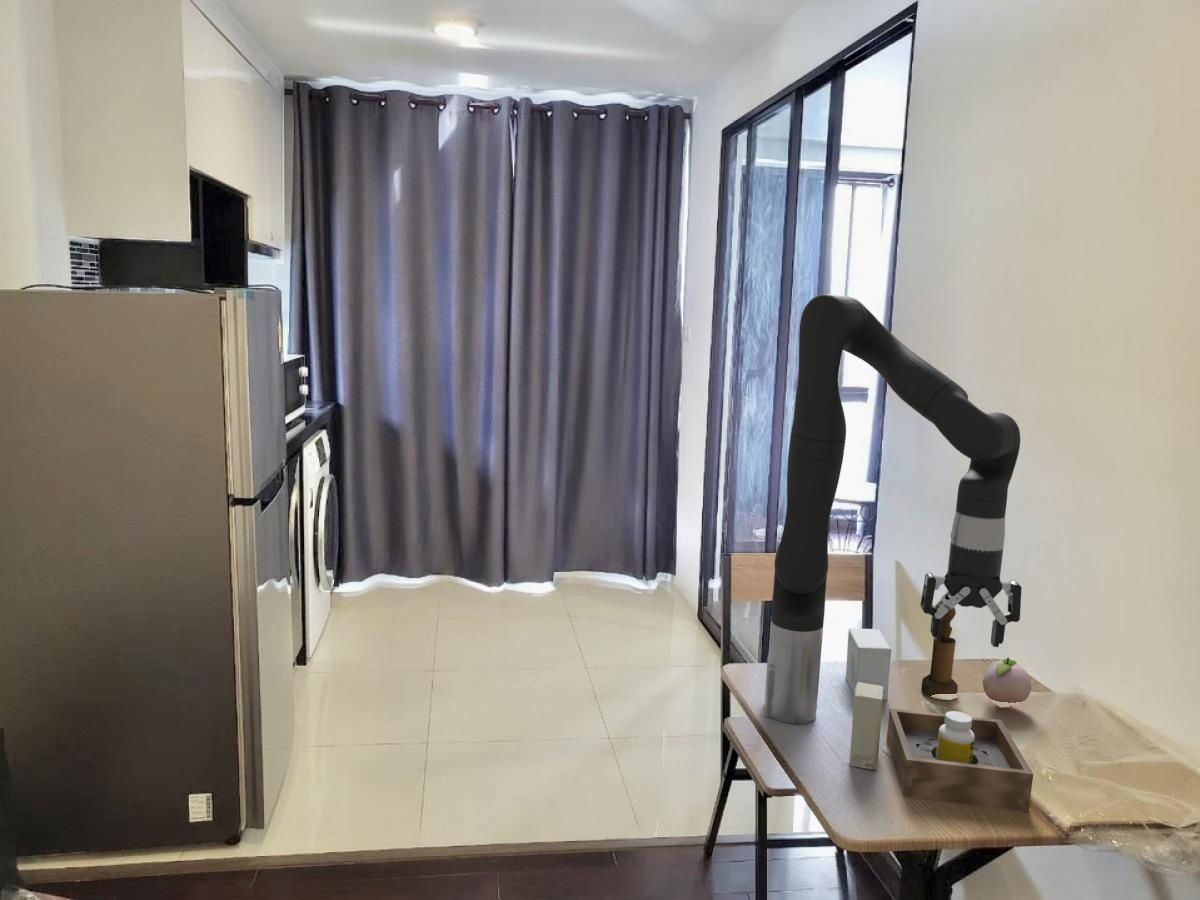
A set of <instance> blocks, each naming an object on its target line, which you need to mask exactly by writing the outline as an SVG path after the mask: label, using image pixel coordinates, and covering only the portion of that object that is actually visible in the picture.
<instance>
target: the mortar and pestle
mask: <svg viewBox="0 0 1200 900" xmlns="http://www.w3.org/2000/svg"><path fill="white" fill-rule="evenodd" d="M956 612H957V611H956V608H955V607H954V608H953V609H952V610H949V611H948V612H947V613H946V614H945V615H944V616H943V617H942V618H943V628H942V637H941V641H936V640H935V638H934V637H933V641H932V642H933V644H932V646H933V647H932V655H931V665H930V672H929V674H928V675H926V676H924V677H923V678H922V679H921V690H920V691H921V692H922V694H923V695H925V696H926V697H927V696H928V697H929V696H932V695H935V694H956V693H957V694H958V690H959V685H958V684H957V682H956V681H955V680H954V679H953V678H952V676H953V667H954V658H955V652H956V651H955V649H956V643H957V640H956V639H955V638H953V637H950V636H951V634H952V632H953V627H952V626H951V622H952V621H953V619H954V618H955V617H956Z"/></svg>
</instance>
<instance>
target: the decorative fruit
mask: <svg viewBox="0 0 1200 900" xmlns="http://www.w3.org/2000/svg"><path fill="white" fill-rule="evenodd" d="M1031 680H1032V679H1031V677H1030V674H1029V672H1027V670H1026V669H1025V668H1024V667H1023V666H1020V665H1019V664H1017V661H1016V660H1014V659H1011V658H1010V657H1007V658H1005V659H1002V660H996V661H994V662H991V663H990V664H989V666H987V668H986V669H985V671H984V675H983V678H982V687H983V691H984V692H985V695H986V696H988V697H989V698H990V699H992V700H995V701H999V702H1008V703H1010V702H1011V703H1012V702H1013V703H1016V702H1022V701H1024V702H1025V701H1026V700H1027V699H1028V698H1029V696H1030V695H1031V691H1032V681H1031ZM988 697H987V698H988ZM989 698H988V699H989ZM990 699H989V700H990ZM1022 703H1023V702H1022Z"/></svg>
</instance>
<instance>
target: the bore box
mask: <svg viewBox="0 0 1200 900" xmlns="http://www.w3.org/2000/svg"><path fill="white" fill-rule="evenodd" d="M945 714H946V713H940V712H939V713H936V712H930V711H929V712H927V711H919V710H908V709H901V708H889V712H888V721H887V722H888V723H887V734H886V744H887V748H888V750H889V749H890V751H889V754H890V753H891V754H890V757H891V756H892V757H891V760H892V759H893V761H892V763H894V764H893V766H894V769H895V770H894V771H895V774H896V776H897V779H898V783H899V787H900V789H901V793H902V797H905V798H912V799H913V798H914V799H922V800H930V801H939V802H945V803H946V802H947V803H955V804H956V803H957V804H964V805H971V806H980V807H990V808H998V809H1005V810H1014V811H1021V812H1030V804H1031V796H1032V788H1033V780H1034V772H1033V771H1032V770H1031V767H1030V766H1029V765H1028V763H1027V761H1026V760H1025V758H1024V756H1023V754H1022V753H1021V751H1020V749H1019V747H1018V746H1017V745H1016V743H1015V741H1014V740H1013V738H1012V736H1011V734H1010V732H1009V731H1008V729H1007V727H1006V726H1005V724H1004V722H1003V720H1001V719H996V718H984V717H976V716H970V717H971V718H972V726H971V729H970V730H971V731H972V732H973V733H974V736H975V741H974V748H973V756H972V764H967V763H958V762H949V761H940V760H937V759H936V750H937V741H938V732H939V728H940V727H941V726H942V725H943V724H945Z"/></svg>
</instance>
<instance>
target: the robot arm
mask: <svg viewBox="0 0 1200 900" xmlns="http://www.w3.org/2000/svg"><path fill="white" fill-rule="evenodd" d="M799 322H800V323H799V333H798V334H799V335H798V336H799V337H798V374H797V383H796V384H797V385H796V393H795V401H794V410H793V411H794V412H793V419H792V426H791V431H790V437H789V447H788V454H787V467H786V468H787V469H786V511H785V512H786V515H785V520H784V525H783V530H782V534H781V539H780V542H779V544H778V546H777V548H776V552H775V557H774V576H773V577H774V578H773V590H772V591H773V592H772V598H771V599H772V601H771V614H770V615H771V616H770V630H769V645H768V655H767V659H766V660H767V663H766V674H765V676H766V677H765V689H764V690H765V692H764V717H765V718H772V719H773V720H776V721H778V722H783V723H786V724H793V723H802V724H809V723H810V722H813V721H814V720H815V719H816V718H817V710H818V697H819V684H820V673H821V672H820V671H821V670H820V669H821V661H822V660H821V658H822V647H823V646H822V645H823V634H824V623H825V621H824V620H825V610H826V591H827V590H826V588H827V579H828V578H827V577H828V571H829V553H828V551H829V548H828V547H829V543H828V542H829V527H830V518H831V513H832V508H833V504H834V501H835V498H836V494H837V489H838V486H839V480H840V477H841V471H842V466H843V461H844V454H845V448H846V447H845V446H846V440H847V439H846V437H847V421H846V416H845V411H844V407H843V404H842V400H841V396H840V389H839V388H840V387H839V374H840V368H841V367H840V365H841V360H842V354H843V351H844V352H846V353H848V354H851V355H853V356H855V357H857V358H858V359H860V360H861V361H863V362H865V363H866V364H868V365H869V366H871V367H872V368H873V369H874V370H875V371H876V372H878V373H879V374H880V376H881V378H882V379H883V380H884V381H885V382H886V383H887V384H888V386H889V387H890V389H891V390H892V391H893V392H894V393H895V394H896V395H897V396H898V397H899V398H900V399H901V400H902V401H903V402H905V404H906V405H908V406H909V407H911V408H912V409H913V410H914V411H915V412H916V413H918V414H919V415H920V416H922V417H923V418H925V420H928V422H930V423H932V424H933V425H934V426H935V427H936V429H937V430H938V431H939V433H940V434H941V435H942V436H943V437H944V438H945V439H946V440H947V441H948V442H949V443H950V445H951V446H953V447H954V448H955V450H957V452H959V453H960V454H962V456H965V457H967V458H969V459H970V461H969V462H970V463H969V466H968V467H969V468H968V471H966V473H965V474H964V475H963V476H962V478H960V480H959V484H958V489H957V496H956V503H955V504H956V507H955V513H954V517H953V521H952V527H951V532H950V546H949V554H948V555H949V556H948V565H947V566H948V567H947V572H946V574H945V575H944V576H940V575H934V574H933V573H931V572H927V573H926V574H925V575H924V581H923V587H922V588H923V589H922V594H921V598H920V599H921V600H920V608H921V609H922V612H923V613H925V614H928V615H930V616H931V621H930V628H929V629H930V631H929V632H930V633H931V636H932V637H933V639H934V638H935V640H936V641H941V637H942V628H943V618H942V617H943V616H944V615H945V614H946V613H947V612H948V611H949V610H952V609H953V608H955V607H956V606H957V605H959V606H960V607H966V608H967V607H974V608H977V609H983V607H986V606H987V607H988V609H989V610H990V612H991V613H992V615H993V616H994V619H992V625H991V632H990V633H991V635H990V644H991V646H992V647H993V648H999V646H1000V645H1002V644H1003V642H1004V640H1005V632H1006V631H1005V630H1006V625H1007V624H1009V623H1011V622H1014V623H1017V622H1019V621H1020V620H1021V605H1022V586H1021V585H1020V584H1019V582H1018V581H1016V580H1015V579H1013V580H1010V581H1002V580H1001V572H1002V571H1001V570H1002V563H1003V555H1004V546H1005V545H1004V544H1005V538H1006V521H1005V520H1006V510H1007V503H1008V493H1009V490H1008V489H1009V485H1010V482H1011V480H1012V476H1013V473H1014V470H1015V467H1016V464H1017V460H1018V458H1019V452H1020V448H1021V447H1020V446H1021V430H1020V427H1019V425H1018V424H1017V422H1016V421H1015V420H1014V419H1013V417H1011V416H1010V415H1008V414H1006V413H1003V412H989V413H988V412H987V413H986V412H984V411H983V410H981V409H980V408H979V407H977V406H976V405H975V404H973V403H972V402H971V401H970V400H969V395H968V393H967V391H966V390H965V389H964V388H963V387H962V386H960V385H959V384H958V383H956V382H955V381H954V380H952V379H951V378H950V377H949V376H947V375H945V374H944V373H943V372H942V371H940V370H938V368H936V367H934V366H933V365H931V364H930V362H928V361H927V360H925V359H923V358H922V357H920V356H919V355H918V354H916V353H915V352H914V351H913V350H912V349H910V348H909V347H908V346H906V345H905V344H904V343H903V342H901V341H900V340H899V339H898V338H897V337H896V336H895V335H894V334H892V332H891V331H890V330H889V329H888V328H886V327H885V325H883V323H881V322H880V320H879V319H878V318H877V317H876V316H875V315H874V314H873V313H872V312H871V311H870V310H869V309H868V308H867V307H866V306H865V305H864V304H863V303H862V302H861V301H860V300H858V299H856V298H855V297H851V296H848V295H840V294H833V293H823V294H819V295H815V296H814V297H813V298H811V299H810V300H809V301H808V302H807V304H806V305H805V306H804V308H803V311H802V313H801V317H800V321H799ZM941 585H944V587H945V588H946V590H947V591H946V592H945V593H944V594H943V595H942V596H941V598H940V600H939V601H938V602H937V603H936V604H935V605H933V602H934V597H935V591H937V590H939V589H940V587H941ZM1002 590H1004V594H1005V595H1006V596H1007V597H1008V598H1007V611H1004V612H1003V611H1001V609H1000V607H999V605H998V604H997V602H996V601H995V597H997V596H998V595H999V593H1001V592H1002Z"/></svg>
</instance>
